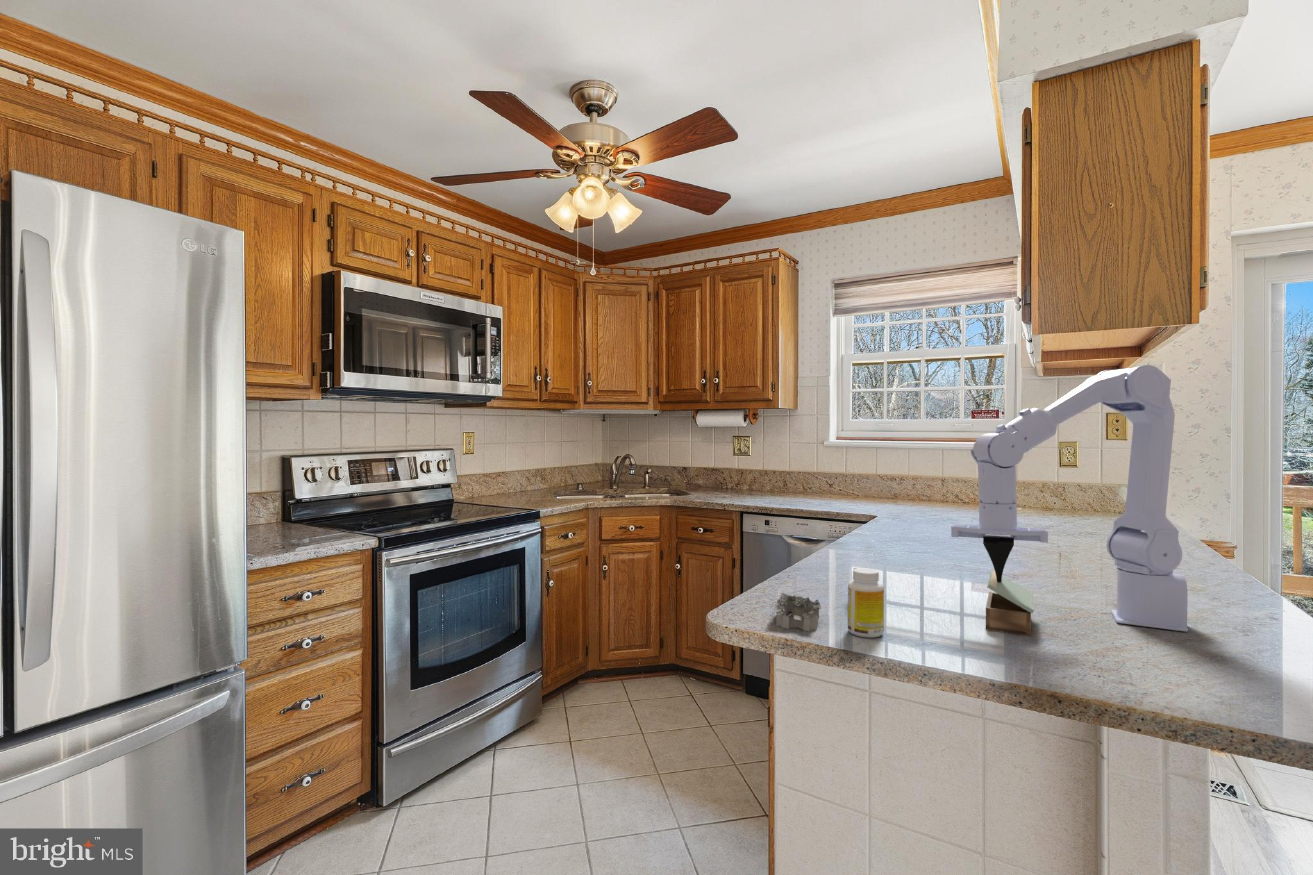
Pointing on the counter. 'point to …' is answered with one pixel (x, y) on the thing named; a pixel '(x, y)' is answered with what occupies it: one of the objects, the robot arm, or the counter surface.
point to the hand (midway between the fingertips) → (998, 581)
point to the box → (1006, 616)
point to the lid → (1012, 592)
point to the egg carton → (797, 612)
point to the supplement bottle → (865, 604)
